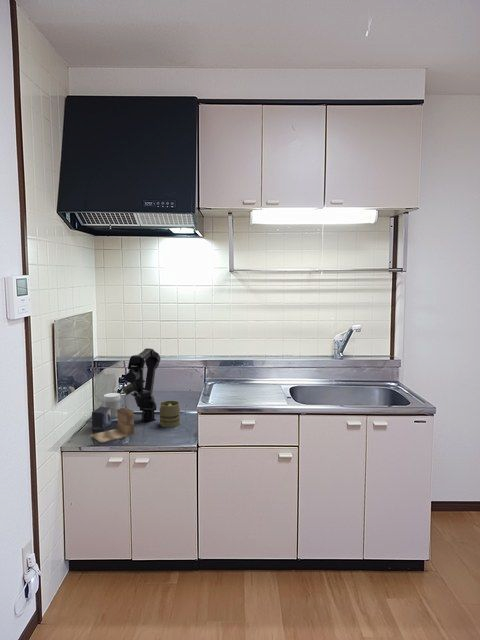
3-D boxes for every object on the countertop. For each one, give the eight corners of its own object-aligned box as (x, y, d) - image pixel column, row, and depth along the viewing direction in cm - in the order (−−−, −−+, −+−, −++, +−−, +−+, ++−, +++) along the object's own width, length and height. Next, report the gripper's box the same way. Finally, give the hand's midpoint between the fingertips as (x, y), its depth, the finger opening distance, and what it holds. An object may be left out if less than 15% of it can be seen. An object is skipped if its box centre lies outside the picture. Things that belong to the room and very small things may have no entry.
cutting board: (115, 430, 257) (115, 429, 257) (126, 436, 247) (126, 435, 247) (90, 435, 248) (90, 434, 248) (100, 442, 238) (100, 441, 238)
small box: (102, 431, 255) (102, 412, 254) (91, 430, 256) (91, 411, 255) (111, 425, 265) (111, 406, 264) (101, 424, 267) (100, 406, 265)
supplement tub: (124, 419, 275) (123, 394, 274) (109, 423, 269) (108, 397, 267) (116, 415, 282) (115, 391, 281) (101, 419, 276) (100, 394, 274)
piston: (179, 400, 272) (180, 405, 260) (179, 420, 273) (180, 426, 262) (159, 401, 270) (159, 406, 259) (160, 421, 271) (159, 427, 260)
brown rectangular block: (127, 428, 259) (126, 407, 258) (134, 433, 252) (134, 411, 251) (117, 430, 256) (117, 409, 254) (125, 435, 249) (124, 413, 247)
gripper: (116, 377, 258) (117, 405, 260) (132, 384, 244) (132, 413, 245) (135, 374, 265) (135, 402, 267) (151, 380, 251) (152, 409, 252)
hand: (138, 406), depth 258 cm, fingers closed
